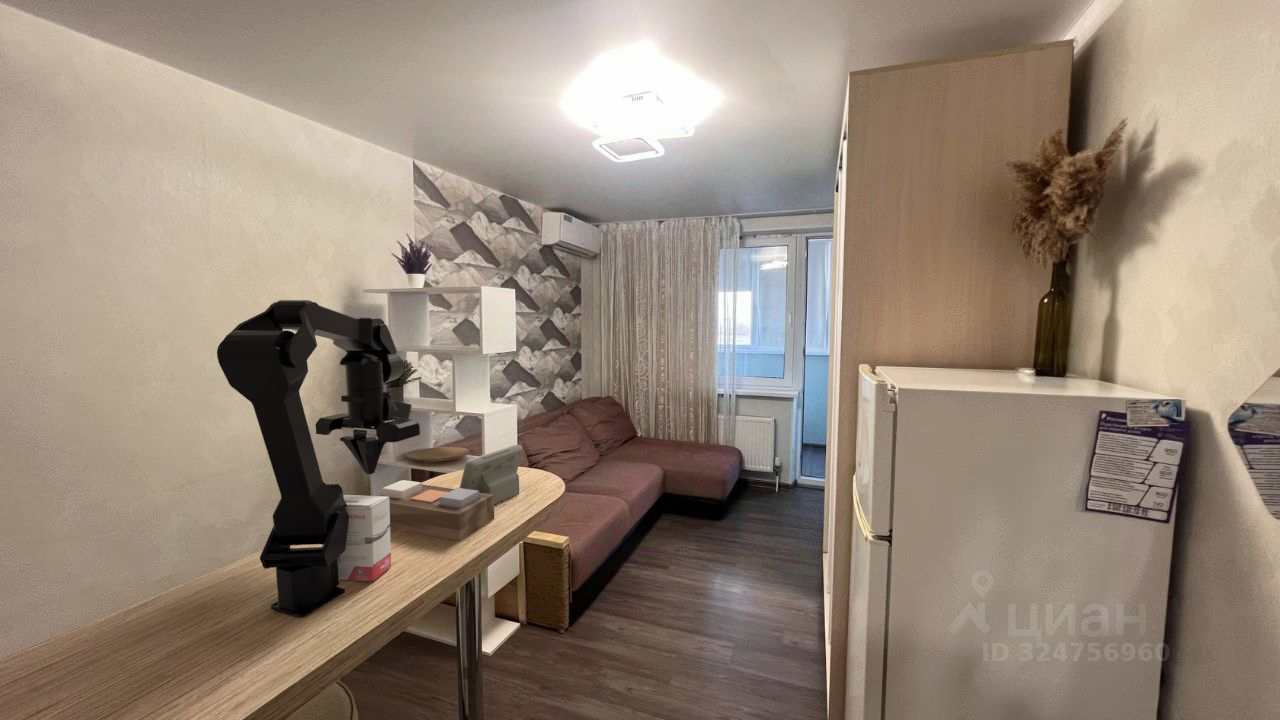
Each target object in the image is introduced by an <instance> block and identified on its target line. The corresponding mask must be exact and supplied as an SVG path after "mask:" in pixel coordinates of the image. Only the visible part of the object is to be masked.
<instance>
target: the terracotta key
mask: <svg viewBox="0 0 1280 720" xmlns="http://www.w3.org/2000/svg"><path fill="white" fill-rule="evenodd" d="M446 493H448V492H443V491H437V490H428V491H426V492H423V493H421V494H419V495H417V496H415V497H413V498H411V501H416V502H422V503H429V504H433V503H435V502H437V501H439V500H440V496H442V495H444V494H446Z"/></svg>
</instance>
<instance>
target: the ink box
mask: <svg viewBox="0 0 1280 720" xmlns="http://www.w3.org/2000/svg"><path fill="white" fill-rule="evenodd" d="M343 497H344V500H345V502H346V504H347V507H345V508H346V511H347V512H348V516H349V523H348V532H347V540H346V549H345V551H344V552H343V553H342V554H341V555H340V556H339V557H338V558H336V559H337V560H338V575H339V581H357V582H358V581H359V582H374V581H375V580H376V579H378V578H379V577H380V576H381V575H383V574H384V573H385V572H386V571H387V570H389V569H390V568H391V567H392V560H391V559H392V552H391V550H392V549H391V528H390V505H389V497H385V496H375V495H360V494H359V495H357V494H343ZM321 547H324V544H321Z"/></svg>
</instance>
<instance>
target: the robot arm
mask: <svg viewBox="0 0 1280 720" xmlns="http://www.w3.org/2000/svg"><path fill="white" fill-rule="evenodd" d="M291 330H292V331H291ZM293 331H295V333H294V332H293ZM316 336H317V337H321V338H326V339H330V340H331V341H333V343H332V344H333V345H334V346H336V347H337V348H339V349H342V350H343V351H345V352H346V354H345V355H344V356H343V357H342V358H341V359H340V361H339V365H340V366H345V367H344V368H345V381H346V384H345V385H346V394H343V395H341V397H340V398H341V399H340V401H341V402H346V403H347V413H337V414H332V415H329V416H322V417H319V418H318V420H317V421H316V423H315V434H316V435H322V436H329V435H330V434H331V433H332V432H333V431H336V430H342V433H343V436H341V437H339V441H340V442H343V443H344V445H345V446H346V447H347V449H348V450H349V451H350V452H351V454H352V455H353V457H354V458H355V459H356V461H357V462H358V464H359V465H360V468H361V469H362V470H363V471H364V473H365V474H366V475H372V474H374V473H375V472H376V469H377V465H378V462H379V460H380V456H381V453H382V450H383V449H384V446H385V444H386V443H399V442H401V441H405V440H408V439H410V438H413V437H418V436H420V435H421V430H420V428H421V425H420V423H419V421H417V420H416V419H412V418H411V419H410V414H411V411H412V406H413V405H412V404H411V403H405V402H401V401H397V400H392V396H391V393H390V392H389V391H385V390H384V384H386V383H389V382H391V381H394V380H397V379H399V378H400V377H401V376H402V374H403V373H404V371H405V363H404V361H403V359H402V357H401V356H400V355H399V354H397V352H398V351H397V350H398V349H397V347H396V345H395V343H394V340H393V337H392V335H391V333H390V329H389V327H388V326H387V324H385V321H384V320H383V319H382V318H381V317H353V316H350V315H348V314H345V313H342V312H340V311H336V310H333V309H331V308H328V307H325V306H322V305H320V304H318V303H317V302H315V301H312V300H308V299H307V300H306V299H293V300H292V299H291V300H290V299H286V300H285V299H280V300H278V301H274V302H273V303H271V304H270V305H269V307H268V308H266V309H265V310H263V312H261V313H259V314H257V315H254V316H252V317H251V318H249V319H247V320H244V321H242V322H241V323H238V325H236V326H235V327H234V329H232V330H231V331H230V332H229V333H228V334H226V336H225V337H224V339H223V340H222V341H221V342H220V343H219V344H218V346H217V349H216V359H217V361H218V364H219V367H220V368H221V371H222V372H223V375H224V377H225V379H226V380H227V382H228V384H229V386H230V387H231V388H232V389H234V390H235V391H236V392H238V393H239V394H240V395H241V396H242V397H243V398H245V399H246V400H247V401H249V402H250V403H251V405H252V407H253V410H254V414H255V416H256V419H257V423H258V426H259V429H260V433H261V436H262V439H263V442H264V445H265V448H266V452H267V455H268V459H269V461H270V465H271V467H272V472H273V474H274V477H275V480H276V484H277V487H278V491H279V494H280V499H279V500H278V503H277V506H276V508H275V509H274V511H273V513H272V522H273V525H272V528H271V530H270V533H269V535H268V537H267V541H266V542H265V545H264V547H263V549H262V551H261V554H260V556H259V560H260V562H261V565H262V567H263V569H265V570H266V569H270V568H271V569H272V568H273V569H274V568H275V572H276V587H277V588H276V589H277V599H278V600H277V601H275V602H273V603H271V604H270V609H271V610H275V611H277V612H280V613H285V614H287V615H290V616H295V617H298V618H305V617H307V616H308V615H310V614H312V613H313V612H315V611H317V610H319V609H320V608H322V607H323V606H326V605H327V604H328V603H330V602H332V601H334V600H335V599H337V598H338V597H340V596H342V595H344V594H345V593H346V589H345V588H344V587H339V584H340V580H339V575H338V560H337V559H336V558H338V557H339V556H340V555H341V554H342V553H343V552H344V551H345V549H346V540H347V532H348V523H349V516H348V512H347V511H346V508H345V507H347V504H346V502H345V500H344V497H343V495H344V492H343V487H342V486H341V485H340V484H339V483H336V484H335V483H331V484H330V483H329V484H328V483H327V484H326V483H325V482H324V480H323V477H322V474H321V469H320V465H319V462H318V459H317V454H316V451H315V448H314V443H313V440H312V437H311V432H310V429H309V428H310V427H309V424H308V421H307V416H306V413H305V410H304V409H305V408H304V406H303V403H302V399H301V395H300V391H301V387H302V385H303V383H304V382H305V379H306V377H307V375H308V372H309V367H308V359H309V358H310V357H311V355H312V354H313V352H314V351H315V349H316V348H317V347H318V342H317V338H316ZM322 544H324V547H322V546H316V547H313V545H322ZM309 545H312V547H294V548H293V547H291V546H309Z"/></svg>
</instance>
